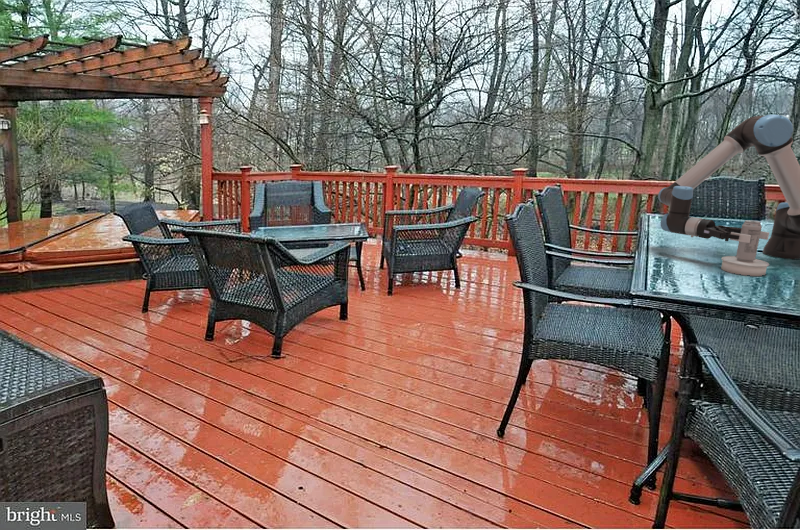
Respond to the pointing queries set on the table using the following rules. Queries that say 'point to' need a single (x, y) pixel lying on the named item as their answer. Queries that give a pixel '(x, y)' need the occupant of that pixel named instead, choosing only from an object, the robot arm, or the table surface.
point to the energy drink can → (749, 250)
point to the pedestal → (744, 266)
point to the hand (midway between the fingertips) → (759, 237)
